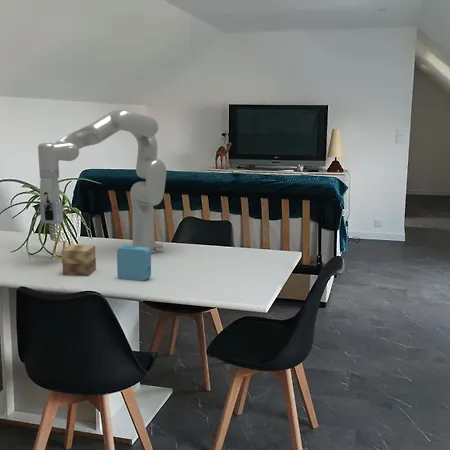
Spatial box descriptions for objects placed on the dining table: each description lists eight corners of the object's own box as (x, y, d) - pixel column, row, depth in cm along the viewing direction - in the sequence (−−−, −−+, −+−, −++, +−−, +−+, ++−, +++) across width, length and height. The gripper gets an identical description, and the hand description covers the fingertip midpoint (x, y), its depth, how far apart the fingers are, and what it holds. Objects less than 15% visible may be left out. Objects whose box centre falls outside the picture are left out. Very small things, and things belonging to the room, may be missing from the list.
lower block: (95, 270, 237) (95, 257, 236) (88, 276, 227) (88, 263, 226) (71, 269, 238) (71, 257, 237) (63, 275, 228) (62, 263, 227)
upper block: (95, 257, 236) (95, 245, 235) (87, 264, 226) (87, 251, 225) (70, 257, 237) (70, 244, 236) (61, 263, 227) (61, 250, 226)
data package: (151, 278, 226) (151, 247, 223) (146, 281, 221) (146, 249, 219) (122, 275, 229) (121, 245, 226) (117, 278, 224) (116, 247, 222)
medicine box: (63, 222, 242) (62, 201, 241) (57, 224, 238) (56, 202, 237) (47, 221, 245) (45, 200, 243) (40, 223, 241) (39, 201, 239)
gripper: (48, 171, 246) (50, 215, 250) (31, 176, 230) (34, 222, 233) (65, 172, 246) (68, 215, 249) (50, 176, 229) (53, 222, 233)
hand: (52, 218), depth 241 cm, fingers closed on medicine box, 5 cm apart
